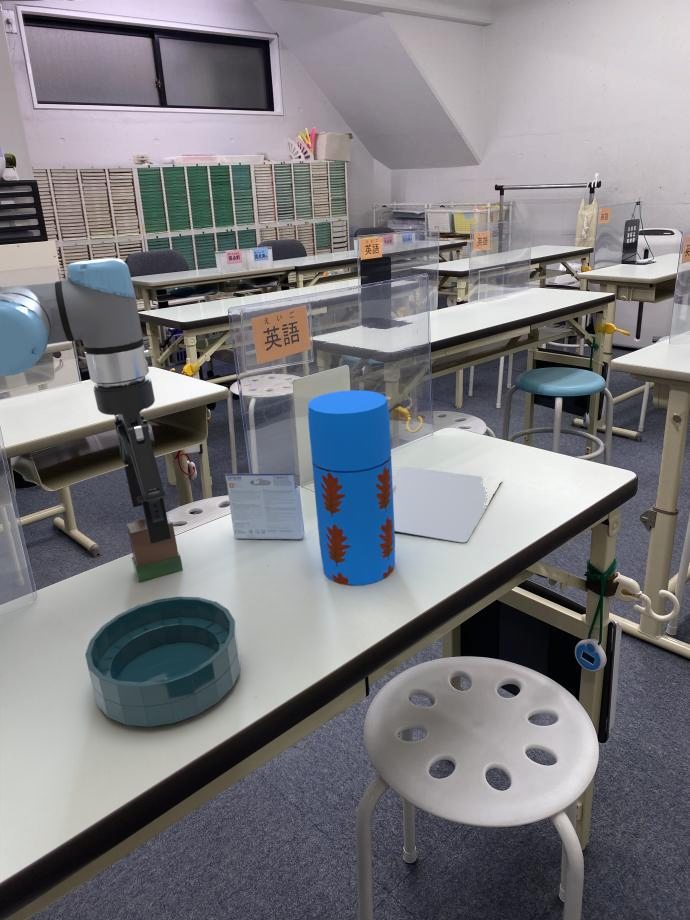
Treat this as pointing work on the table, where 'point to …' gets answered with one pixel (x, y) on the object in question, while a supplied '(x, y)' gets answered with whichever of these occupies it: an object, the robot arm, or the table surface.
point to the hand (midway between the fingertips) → (150, 521)
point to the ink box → (265, 506)
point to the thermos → (353, 485)
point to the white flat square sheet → (437, 503)
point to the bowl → (164, 660)
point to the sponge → (153, 552)
